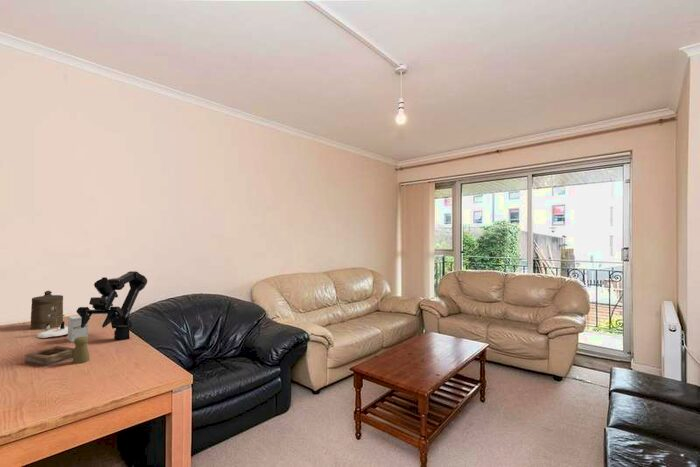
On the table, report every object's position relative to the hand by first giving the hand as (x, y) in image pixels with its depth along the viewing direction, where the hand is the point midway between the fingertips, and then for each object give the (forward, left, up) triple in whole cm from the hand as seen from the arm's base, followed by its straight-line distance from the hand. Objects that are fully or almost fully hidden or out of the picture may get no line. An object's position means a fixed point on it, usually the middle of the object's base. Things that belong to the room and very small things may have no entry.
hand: (92, 327), depth 159 cm
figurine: (+18, -53, -14) cm, 58 cm away
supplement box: (+8, -34, -13) cm, 38 cm away
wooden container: (+26, -78, -13) cm, 83 cm away
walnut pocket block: (+15, -3, -13) cm, 20 cm away
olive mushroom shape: (+4, +7, -13) cm, 15 cm away
